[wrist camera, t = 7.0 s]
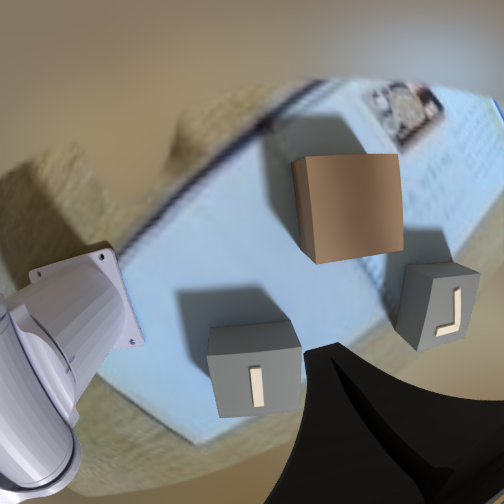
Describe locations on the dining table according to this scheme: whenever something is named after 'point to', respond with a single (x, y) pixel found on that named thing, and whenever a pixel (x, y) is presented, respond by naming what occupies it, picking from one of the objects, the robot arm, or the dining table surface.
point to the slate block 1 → (255, 369)
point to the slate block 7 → (436, 303)
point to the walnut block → (348, 205)
